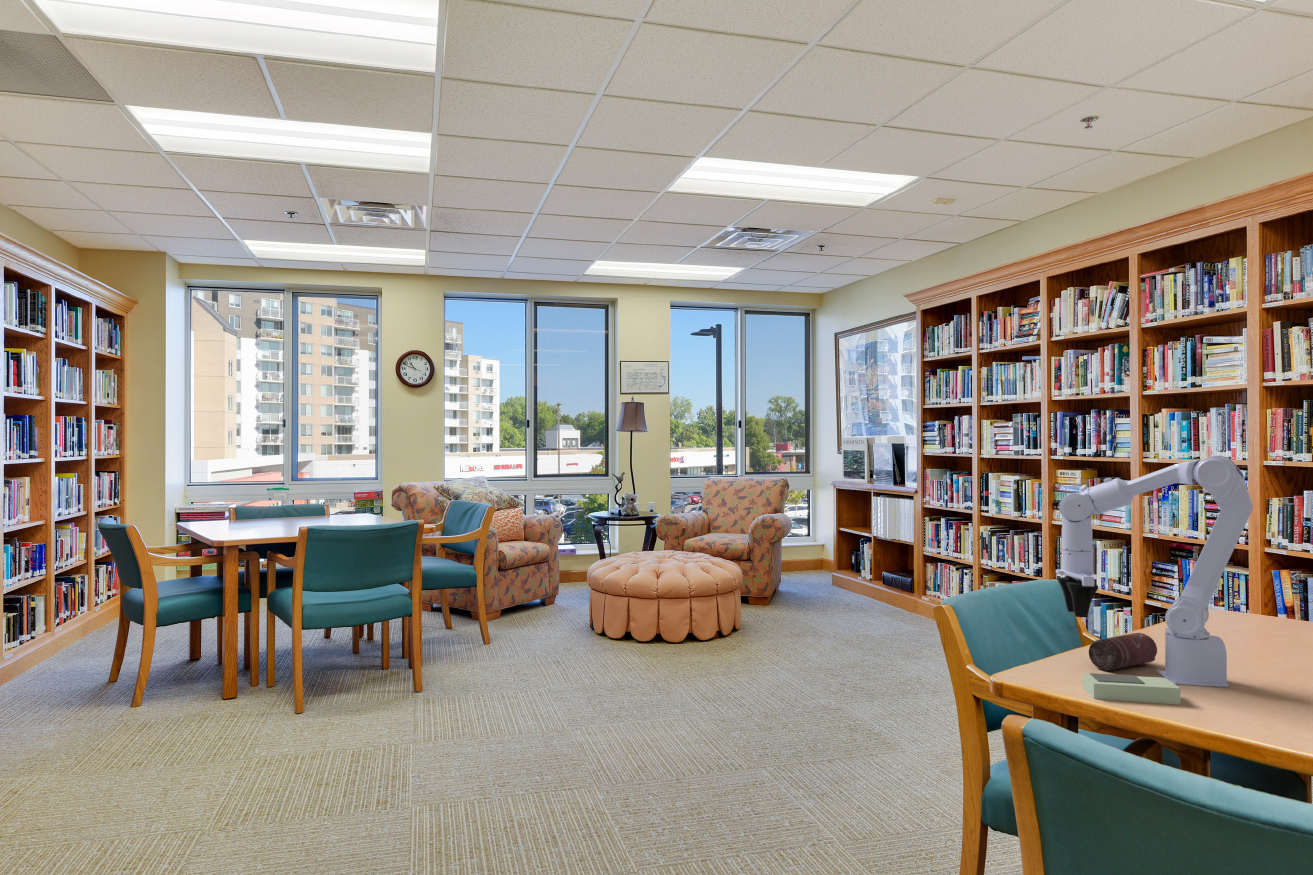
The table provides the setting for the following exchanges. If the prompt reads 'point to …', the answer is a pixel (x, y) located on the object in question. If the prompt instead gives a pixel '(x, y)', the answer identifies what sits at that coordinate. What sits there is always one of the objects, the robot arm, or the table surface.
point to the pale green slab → (1131, 688)
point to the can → (1122, 651)
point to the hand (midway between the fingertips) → (1077, 614)
